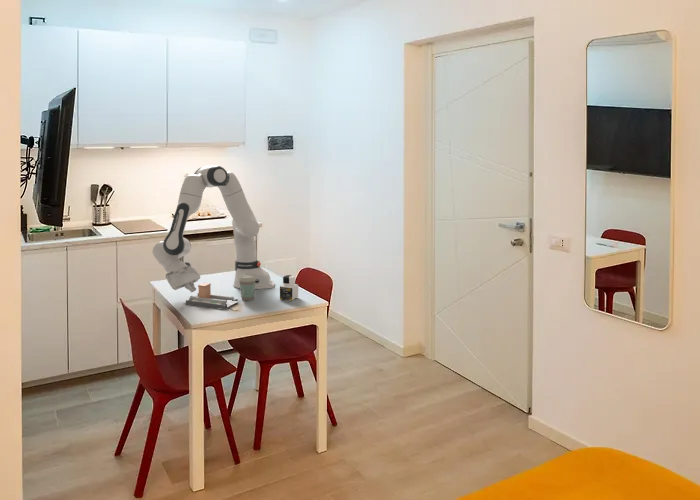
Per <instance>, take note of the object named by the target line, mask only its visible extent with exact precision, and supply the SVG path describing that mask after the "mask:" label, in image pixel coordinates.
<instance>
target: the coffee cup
mask: <svg viewBox="0 0 700 500" xmlns="http://www.w3.org/2000/svg"><path fill="white" fill-rule="evenodd" d="M255 280H256V278H255V276H254V275H241V276H240V277H239V282H240V288H239V289H240V295H241V296H240V297H241V300H242V301H244V300H250V301H253V300H254V297H255V296H254V294H255V289H254V288H255ZM252 299H253V300H252Z"/></svg>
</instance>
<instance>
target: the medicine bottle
mask: <svg viewBox="0 0 700 500" xmlns="http://www.w3.org/2000/svg"><path fill="white" fill-rule="evenodd" d="M297 297H298V298H299V284H296V276H294V275H291V274H287V275H284V276H283V277H282V285H280V286H279V299H285V300H284V301H287V300H293V299H295V298H297ZM298 298H297V299H298ZM295 300H296V299H295ZM293 301H294V300H293Z"/></svg>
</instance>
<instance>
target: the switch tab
mask: <svg viewBox="0 0 700 500" xmlns="http://www.w3.org/2000/svg"><path fill="white" fill-rule="evenodd" d="M211 285H212V283H209V282H203V283H200V284H198V285H197V287H198V293H199V297H203V298H211V293H212V291H211Z"/></svg>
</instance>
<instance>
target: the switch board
mask: <svg viewBox="0 0 700 500" xmlns="http://www.w3.org/2000/svg"><path fill="white" fill-rule="evenodd" d="M238 299H239V298H235V297H234V296H229V295H220V294H213V293H212V294H211V298H203V297H199V292H197V295H195V296H193V295H190V296H189V298H188V299H185V305H189V306H195V305H196V307H203V306H204V307H205V308H210V307H212V308H211V309H218V308H220V310H227V309H228V308H227V304H226V303H227V300H232V301H239V300H238ZM226 308H227V309H226Z"/></svg>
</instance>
